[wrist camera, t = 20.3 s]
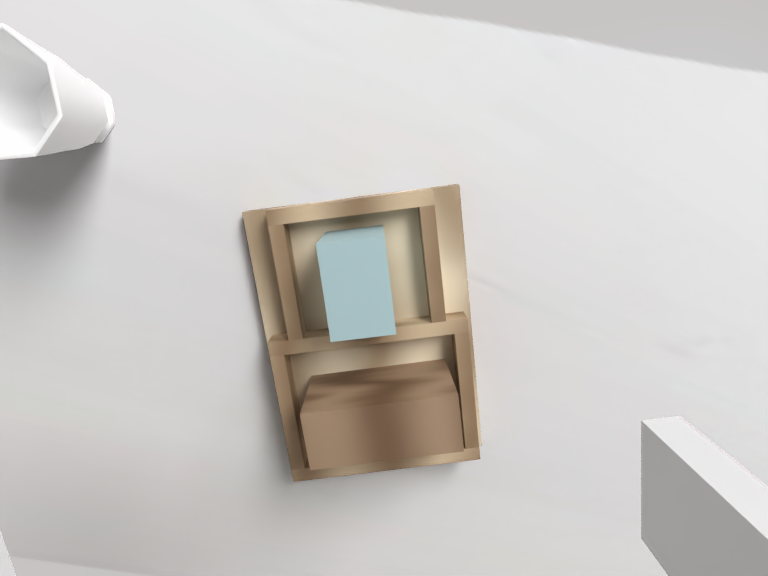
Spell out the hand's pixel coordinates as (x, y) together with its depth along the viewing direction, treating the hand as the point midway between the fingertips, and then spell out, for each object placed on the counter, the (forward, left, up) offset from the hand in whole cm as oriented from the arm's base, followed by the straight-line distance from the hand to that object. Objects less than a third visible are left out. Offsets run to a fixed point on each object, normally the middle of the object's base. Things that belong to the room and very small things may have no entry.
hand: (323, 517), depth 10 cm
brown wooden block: (0, -10, -26) cm, 27 cm away
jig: (0, -4, -27) cm, 27 cm away
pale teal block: (0, 0, -26) cm, 26 cm away
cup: (-19, +14, -27) cm, 35 cm away
